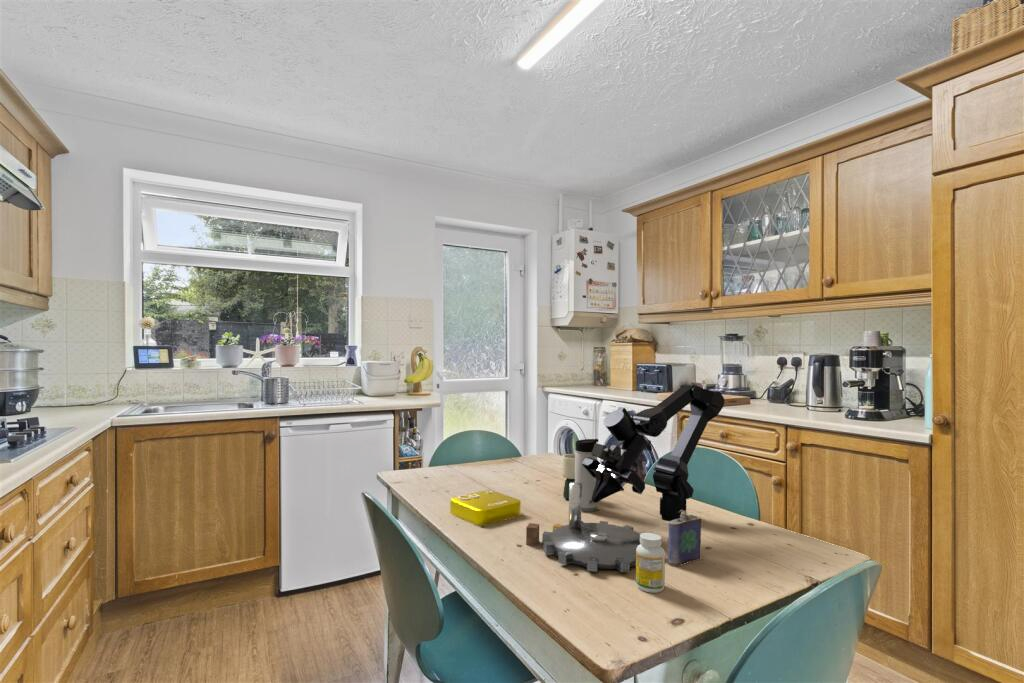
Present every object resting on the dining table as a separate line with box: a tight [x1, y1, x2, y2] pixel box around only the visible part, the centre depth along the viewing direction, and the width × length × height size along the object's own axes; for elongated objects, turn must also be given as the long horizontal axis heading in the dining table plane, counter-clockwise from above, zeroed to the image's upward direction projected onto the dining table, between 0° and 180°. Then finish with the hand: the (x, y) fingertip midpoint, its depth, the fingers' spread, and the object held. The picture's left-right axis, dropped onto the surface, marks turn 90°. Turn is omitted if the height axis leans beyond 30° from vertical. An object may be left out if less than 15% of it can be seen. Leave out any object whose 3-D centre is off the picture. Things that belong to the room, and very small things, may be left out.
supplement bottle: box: [635, 532, 666, 594], centre depth 97 cm, size 5×5×10 cm
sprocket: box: [541, 482, 641, 573], centre depth 114 cm, size 25×25×12 cm
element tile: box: [449, 489, 521, 526], centre depth 140 cm, size 15×15×5 cm
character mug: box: [561, 453, 575, 500], centre depth 155 cm, size 11×7×13 cm, turn 30°
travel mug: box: [574, 438, 599, 513], centre depth 145 cm, size 6×7×20 cm
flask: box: [667, 510, 702, 567], centre depth 110 cm, size 9×3×11 cm, turn 121°
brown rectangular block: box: [525, 522, 540, 547], centre depth 119 cm, size 2×3×4 cm
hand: (593, 501), depth 124 cm, fingers closed
